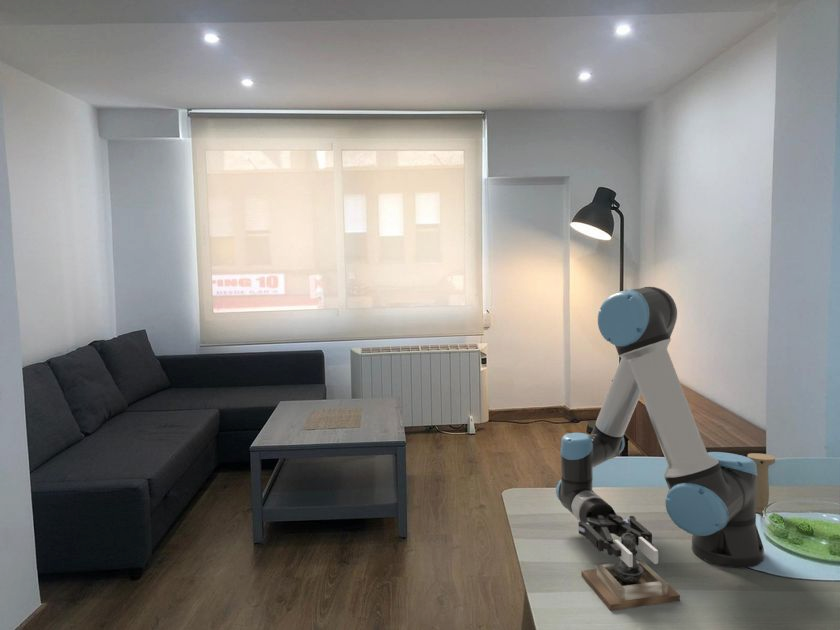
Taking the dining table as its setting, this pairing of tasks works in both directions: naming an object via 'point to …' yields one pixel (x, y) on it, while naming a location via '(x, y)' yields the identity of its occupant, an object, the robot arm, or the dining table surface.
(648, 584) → the caddy
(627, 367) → the robot arm
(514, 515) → the dining table surface
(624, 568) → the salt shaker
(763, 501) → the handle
